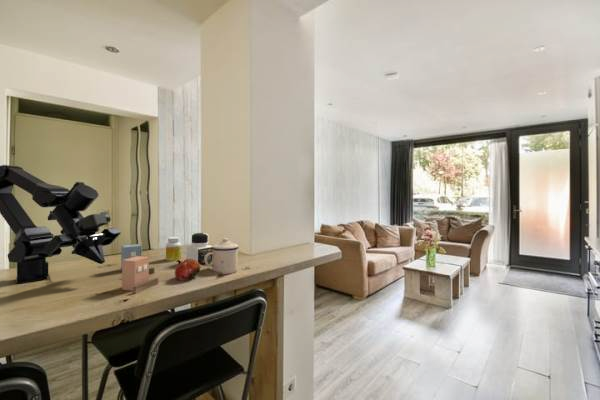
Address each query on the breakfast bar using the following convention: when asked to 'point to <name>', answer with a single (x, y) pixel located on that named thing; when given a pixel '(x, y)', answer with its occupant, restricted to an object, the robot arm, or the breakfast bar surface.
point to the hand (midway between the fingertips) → (102, 262)
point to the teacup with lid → (223, 257)
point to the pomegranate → (187, 269)
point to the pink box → (134, 272)
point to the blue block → (130, 251)
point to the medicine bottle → (199, 249)
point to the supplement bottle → (173, 249)
